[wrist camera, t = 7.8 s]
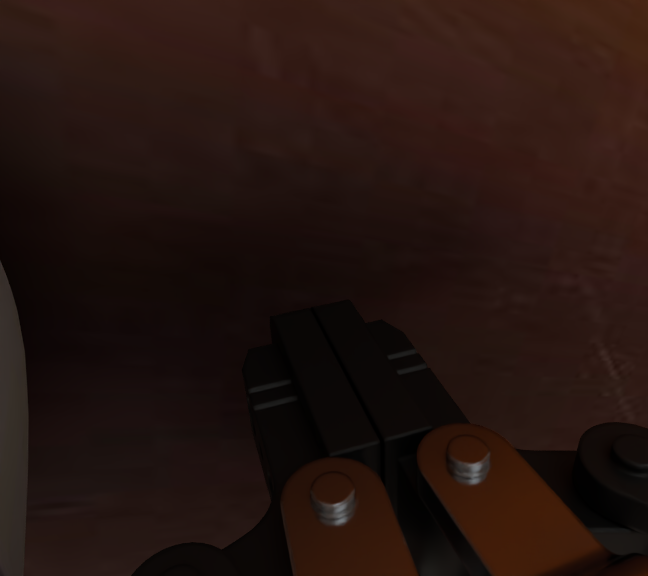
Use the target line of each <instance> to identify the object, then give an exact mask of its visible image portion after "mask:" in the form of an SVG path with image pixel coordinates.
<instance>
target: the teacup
mask: <svg viewBox="0 0 648 576" xmlns="http://www.w3.org/2000/svg"><path fill="white" fill-rule="evenodd" d="M27 479H28V395H27V378H26V362H25V350H24V344H23V339H22V333H21V328H20V322H19V317H18V311H17V308H16V304H15V301H14V297H13V294H12V291H11V288H10V285H9V282H8V279H7V276H6V274H5V271H4V269H3V266H2V263H1V261H0V576H23V570H24V553H25V528H26V504H27Z"/></svg>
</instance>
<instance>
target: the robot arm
mask: <svg viewBox="0 0 648 576" xmlns="http://www.w3.org/2000/svg"><path fill="white" fill-rule="evenodd" d="M270 329H271V337H272V344H270V345H266V346H261V347H257V348H253V349H248V353H247V356H246V359H245V362H244V365H243V368H242V373H243V379H244V385H245V391H246V397H247V403H248V409H249V415H250V421H251V426H252V432H253V436H254V440H255V444H256V447H257V451H258V454H259V458H260V462H261V466H262V469H263V472H264V476H265V480H266V484H267V488H268V491H269V495H270V499H271V504H270V507H269V509H268V511H267V512H266V514H265V516H264V517H263V518H262V519H261V521H260V522H259V523H258V524H257V525H256V526H255V527H254V528H253V529H252V530H251V531H249V532H248V533H247V534H245V535H244V536H243V537H241V538H239V539H238V540H236V541H235V542H233V543H232V544H230V545H229V546H227V547H225V548H224V549H222V550H221V549H219V548H217V547H215V546H212V545H209V544H205V543H195V542H191V543H182V544H178V545H174V546H171V547H169V548H166V549H163V550H162V551H160V552H158V553H156V554H154V555H153V556H151V557H150V558H149V559H147V560H146V561H145V562H144V563H143V564H142V565H140V566H139V567H138V568H137V569H136V571H135V572H134V573H133V574H132V575H131V576H648V429H647V428H644V427H641V426H638V425H634V424H628V423H619V422H611V423H603V424H599V425H596V426H593V427H591V428H590V429H588V430H587V431H586V432H585V433H584V434H583V435H582V437H581V438H580V441H579V444H578V449H577V451H531V450H520V449H515V448H514V447H513V446H512V445H511V444H510V443H509V442H508V441H507V440H506V439H505V438H504V437H502V436H501V435H500V434H498V433H496V432H495V431H493V430H491V429H488V428H486V427H483V426H480V425H476V424H471V423H470V422H469V421H468V419H467V418H466V417H465V415H464V414H463V413H462V411H461V410H460V409H459V407H458V406H457V405H456V403H455V402H454V401H453V399H452V398H451V396H450V395H449V394H448V392H447V391H446V390H445V388H444V387H443V386H442V384H441V383H440V382H439V380H438V379H437V377H436V376H435V375H434V373H433V372H432V371H431V369H430V368H427V364H426V363H425V361H424V360H423V358H422V357H421V356H420V354H419V353H417V352H416V349H415V348H414V346H413V345H412V344H411V342H410V341H409V340H408V338H407V337H406V335H405V334H404V333H403V332H402V331H400V330H399V329H397V328H395V327H393V326H392V325H390V324H388V323H387V322H385V321H383V320H377V321H373V322H368V323H365V322H364V320H363V319H362V317H361V316H360V314H359V313H358V311H357V310H356V308H355V307H354V305H353V303H352V302H351V301H350V300H344V301H340V302H335V303H330V304H325V305H321V306H316V307H311V308H310V309H309V308H307V309H303V310H298V311H293V312H289V313H284V314H279V315H274V316H270Z"/></svg>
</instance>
